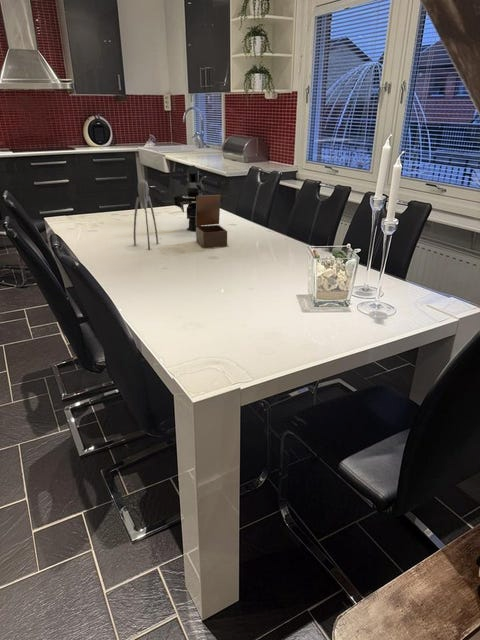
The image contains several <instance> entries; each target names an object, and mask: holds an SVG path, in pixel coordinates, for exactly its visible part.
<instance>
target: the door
mask: <svg viewBox="0 0 480 640" xmlns="http://www.w3.org/2000/svg"><path fill="white" fill-rule="evenodd" d="M220 214H221V194H211V195H205V196H196V226H199V225H201V226H210V225H220Z"/></svg>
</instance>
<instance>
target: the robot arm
mask: <svg viewBox="0 0 480 640" xmlns="http://www.w3.org/2000/svg"><path fill="white" fill-rule="evenodd" d="M185 179H186V181H187V190H186V196H183V194H182V193H174V195H173V202H174V206H175V207H177V208H180V209H181V211H182V213H183V214H184V212H185V207H184V202H188V204H187V206H186V219H187V220H188V228H186V230H189V231H193V232H196V196H205V195H212V193H205V186H204V185H203V183H202V181H203V180H204V176H203V174H202V173H201V172H200V169H199V168H198V167H197V166H196V165H192V164H191V165H190V166H189V167H187V169H186V174H185ZM199 226H202V225H199Z"/></svg>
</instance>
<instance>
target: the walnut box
mask: <svg viewBox="0 0 480 640" xmlns="http://www.w3.org/2000/svg"><path fill="white" fill-rule="evenodd" d="M195 239H196V240H195V241H196V242H197V244H198V245H199V246H200V247H202V248H203V249H211V248H212V249H213V248H224V247H228V231H227V229H225V228H224V227H223V226H221V225H220V224H215V225H201V226H196V231H195Z"/></svg>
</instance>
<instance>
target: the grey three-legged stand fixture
mask: <svg viewBox="0 0 480 640" xmlns="http://www.w3.org/2000/svg"><path fill="white" fill-rule="evenodd" d="M149 190H150V189H149V184H148V181H147V180H146V179H145V180H144V179H141V180H139V181H138V183H137V193H138V196H136V200H135V207H134V216H133V217H134V218H133V245H134V246H137V240H136V239H137V238H136V237H137V234H136V233H137V216H138V215H137V214H138V207H139V203H141V205H142V207H143V210H144V213H145V224H146V235H147V236H146V237H147V249H148V251H150V250H151V244H150V243H151V241H150V231H149V222H148V212H147V204H148V205H149V208H150V211H151V216H152V220H153V226H154V232H155V240H156V244H157V245H159V236H158V229H157V222H156V216H155V211H154V207H153V204H152V200H151V196H150V195H149Z"/></svg>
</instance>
